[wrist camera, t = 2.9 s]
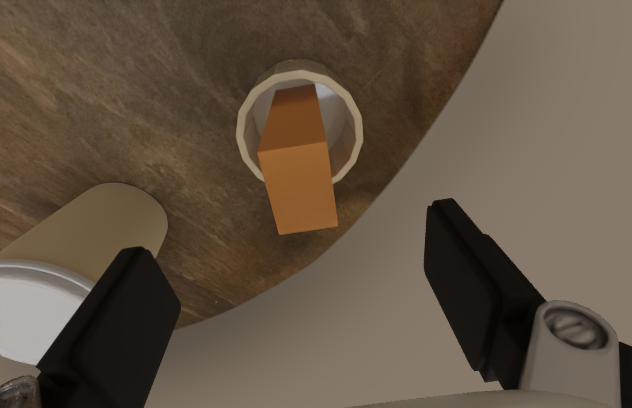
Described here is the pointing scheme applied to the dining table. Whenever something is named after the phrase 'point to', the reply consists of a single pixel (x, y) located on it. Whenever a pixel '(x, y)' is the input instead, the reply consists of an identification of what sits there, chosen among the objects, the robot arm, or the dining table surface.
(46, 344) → the coffee cup
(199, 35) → the dining table surface
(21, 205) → the dining table surface
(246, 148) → the cup
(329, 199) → the orange rectangular bar
